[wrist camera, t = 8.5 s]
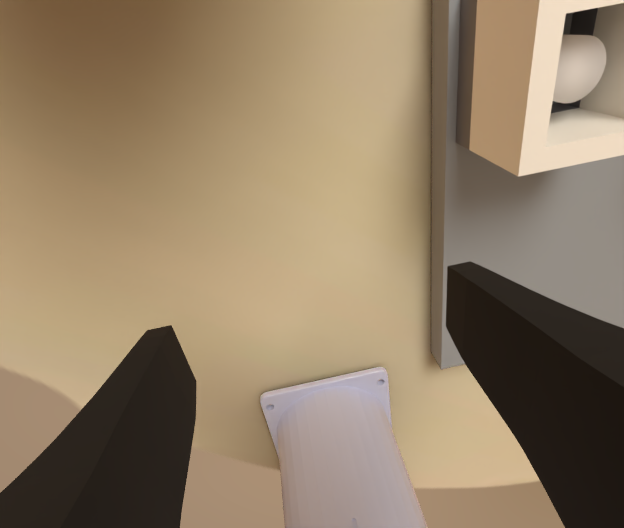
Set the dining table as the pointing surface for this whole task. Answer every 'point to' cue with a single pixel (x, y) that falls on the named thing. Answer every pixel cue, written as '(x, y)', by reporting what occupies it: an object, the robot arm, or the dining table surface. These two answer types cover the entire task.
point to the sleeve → (536, 84)
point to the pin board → (523, 200)
